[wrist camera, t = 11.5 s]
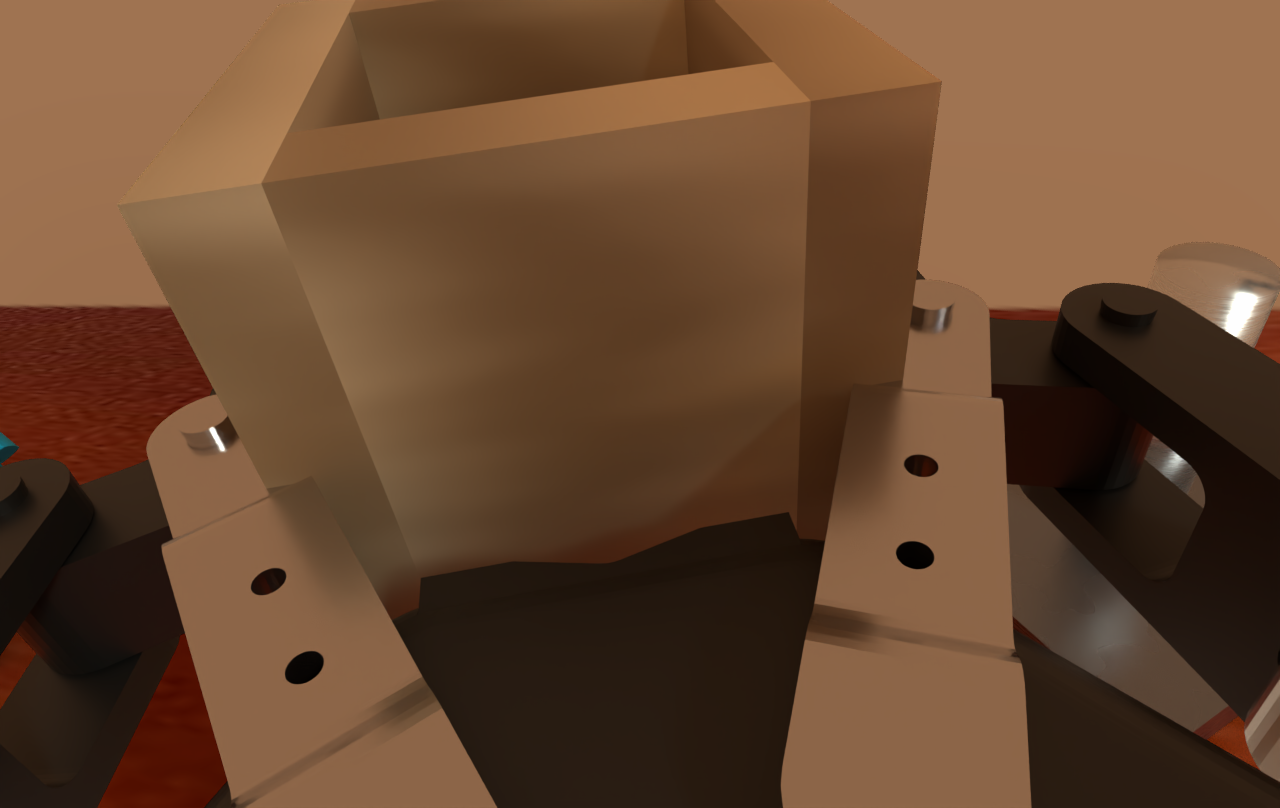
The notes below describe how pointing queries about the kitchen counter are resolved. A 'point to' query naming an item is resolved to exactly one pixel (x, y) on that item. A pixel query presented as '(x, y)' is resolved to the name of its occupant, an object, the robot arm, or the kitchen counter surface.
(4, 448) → the gear
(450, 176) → the sleeve
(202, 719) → the kitchen counter surface
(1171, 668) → the stand
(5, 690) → the kitchen counter surface
